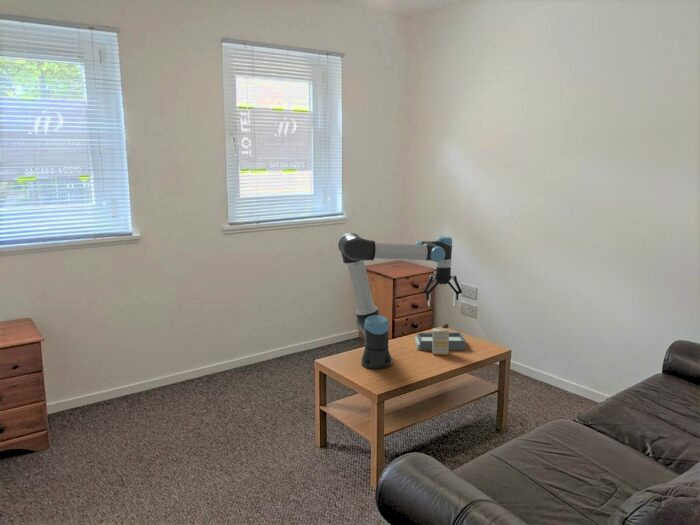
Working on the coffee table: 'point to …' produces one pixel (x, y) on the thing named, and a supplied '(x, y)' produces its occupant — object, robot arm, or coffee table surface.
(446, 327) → the peg
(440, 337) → the supplement box
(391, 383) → the coffee table surface
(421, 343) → the box
